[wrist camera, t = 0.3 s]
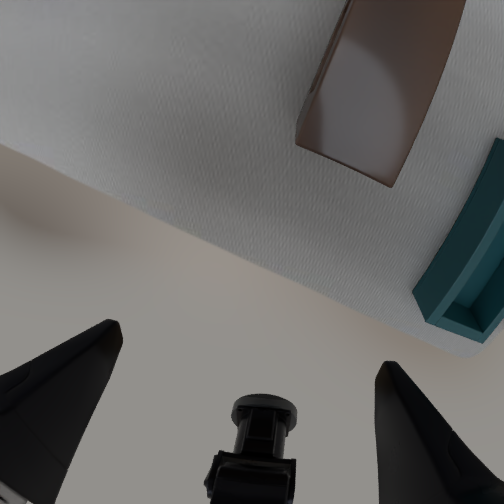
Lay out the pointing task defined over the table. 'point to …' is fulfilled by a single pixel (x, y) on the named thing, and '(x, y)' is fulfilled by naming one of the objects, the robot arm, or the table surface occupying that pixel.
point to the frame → (378, 83)
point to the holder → (470, 262)
